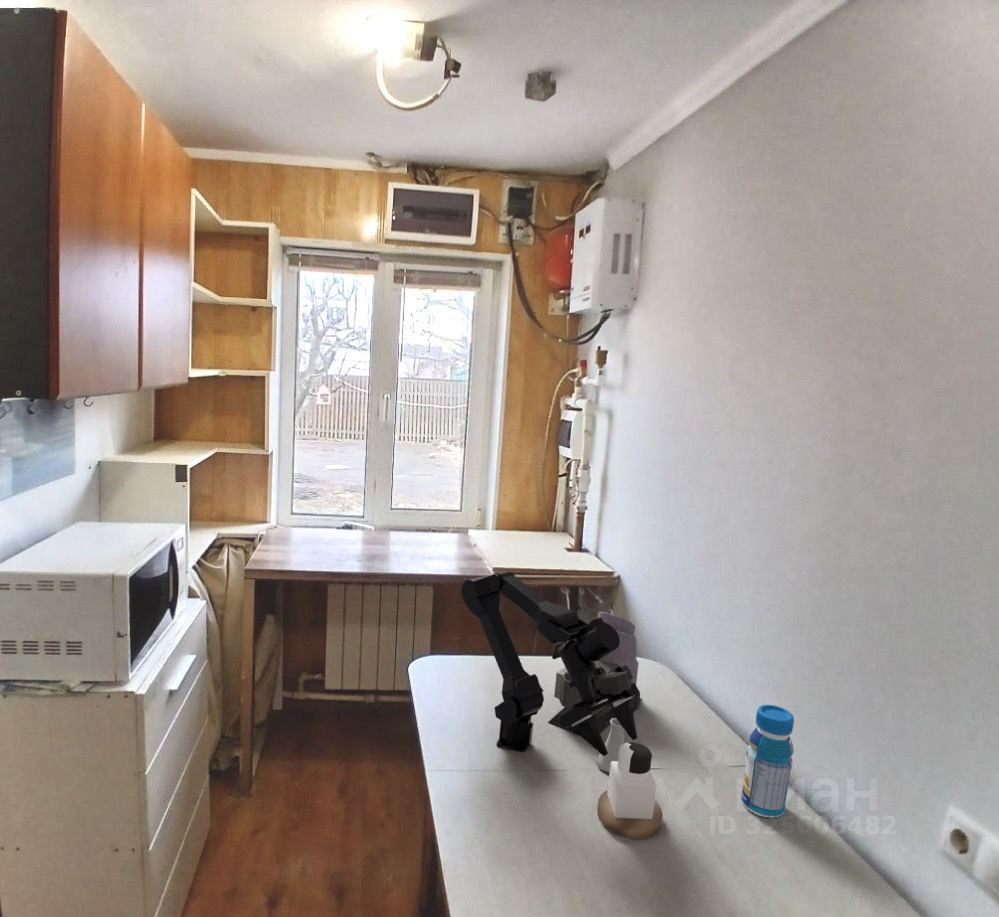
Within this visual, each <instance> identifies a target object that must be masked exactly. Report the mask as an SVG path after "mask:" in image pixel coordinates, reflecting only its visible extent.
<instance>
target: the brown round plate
mask: <svg viewBox="0 0 999 917" xmlns="http://www.w3.org/2000/svg"><path fill="white" fill-rule="evenodd" d="M607 792H608V789H607V790H605V791H603V793H602V792H601V794H600V796H599V798H598V802H597V810H596V813H597V818H598V820H599V821H600V823H601V824H602V825H603V827H605V828H606V829H607V830H608V831H610V832H611V833H613V834H615V835H618V836H620V837H623V838H627V839H631V840H632V839H633V840H645V839H650V838H652V837H654V836H655V835H657V834H658V833H659V832H660V831H661V828H662V823H663V810H662V808H661V806H660V804H659V803H658V802H657V801H656V800H655V802H654V810H653V818H652V819H628V818H615V816H614V813H613V810H612V807H611V804H610V801H609V798H608V795H607Z"/></svg>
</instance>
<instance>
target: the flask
mask: <svg viewBox="0 0 999 917" xmlns="http://www.w3.org/2000/svg"><path fill="white" fill-rule="evenodd" d="M624 743H625V742H624V728H623V727H622V726H621V724H620V723H619V721H618V720H617V719H616V718H612V719H611V720H610V730H609V734H608V736H607V739H606V741H605V742H604V744H605V746H606V749H607V752H608V754H607V755H605V756H603V755H602V754H600V753H599V754H598V756H597V758H596V760H595V762H596V765H597V767H598V769H599V770H601V771H603V772H606V773H609V774H610V765H611V762H612V761H618V756H619V748H620V746H621V745H623V744H624Z"/></svg>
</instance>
